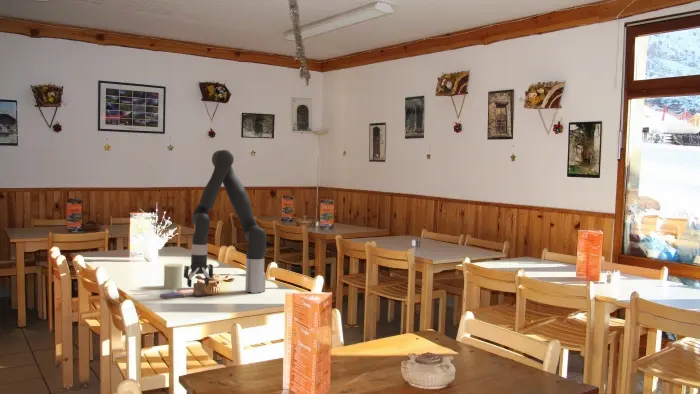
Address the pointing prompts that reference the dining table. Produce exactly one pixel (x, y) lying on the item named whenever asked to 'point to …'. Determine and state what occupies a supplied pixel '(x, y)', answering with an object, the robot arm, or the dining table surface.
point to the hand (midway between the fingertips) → (198, 286)
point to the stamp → (199, 289)
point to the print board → (185, 291)
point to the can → (173, 276)
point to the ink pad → (171, 295)
